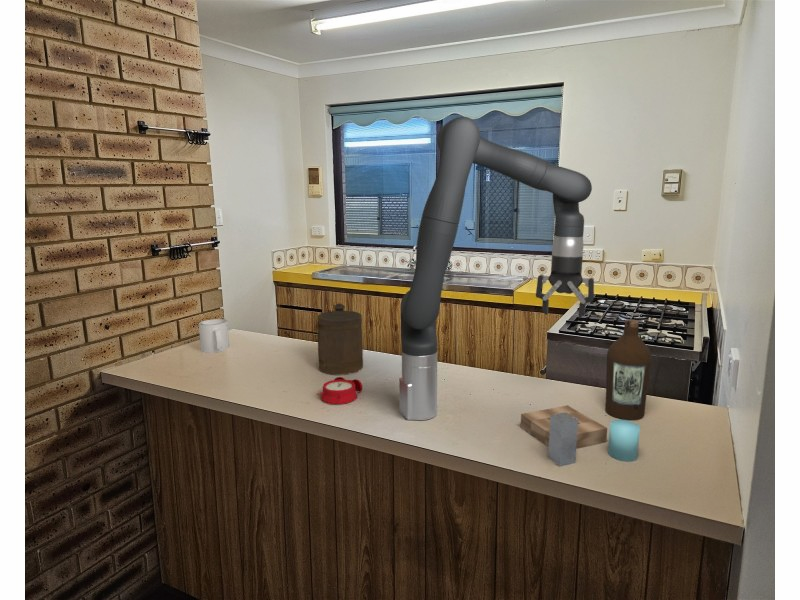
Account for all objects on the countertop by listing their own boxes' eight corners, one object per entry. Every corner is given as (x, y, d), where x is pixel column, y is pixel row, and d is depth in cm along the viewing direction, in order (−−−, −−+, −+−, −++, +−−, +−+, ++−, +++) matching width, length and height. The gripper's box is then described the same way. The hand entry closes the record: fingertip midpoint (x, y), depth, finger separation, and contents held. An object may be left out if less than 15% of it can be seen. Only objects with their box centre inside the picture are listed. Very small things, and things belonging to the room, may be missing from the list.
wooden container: (363, 360, 180) (362, 299, 175) (362, 374, 165) (360, 308, 161) (321, 361, 179) (318, 299, 175) (316, 375, 165) (313, 309, 160)
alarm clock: (311, 391, 142) (336, 364, 154) (314, 410, 144) (339, 381, 157) (344, 396, 138) (367, 368, 151) (347, 415, 141) (370, 386, 153)
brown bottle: (602, 402, 141) (609, 314, 136) (645, 407, 137) (653, 317, 132) (602, 417, 132) (609, 323, 126) (648, 424, 128) (657, 327, 123)
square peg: (560, 466, 108) (562, 422, 106) (548, 457, 112) (550, 415, 110) (575, 463, 110) (578, 419, 108) (563, 454, 113) (565, 412, 111)
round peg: (622, 463, 109) (624, 433, 108) (601, 451, 115) (604, 422, 113) (643, 458, 111) (646, 428, 110) (622, 446, 117) (625, 417, 115)
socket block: (556, 453, 114) (557, 438, 113) (520, 427, 127) (521, 414, 126) (606, 441, 119) (607, 427, 118) (566, 418, 132) (567, 405, 131)
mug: (235, 352, 190) (233, 324, 188) (207, 357, 185) (205, 328, 182) (224, 343, 201) (222, 317, 199) (197, 348, 195) (195, 321, 193)
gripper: (536, 254, 130) (533, 316, 133) (596, 257, 124) (591, 321, 128) (541, 251, 137) (537, 310, 140) (597, 253, 131) (592, 315, 134)
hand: (563, 315), depth 134 cm, fingers open, 8 cm apart
